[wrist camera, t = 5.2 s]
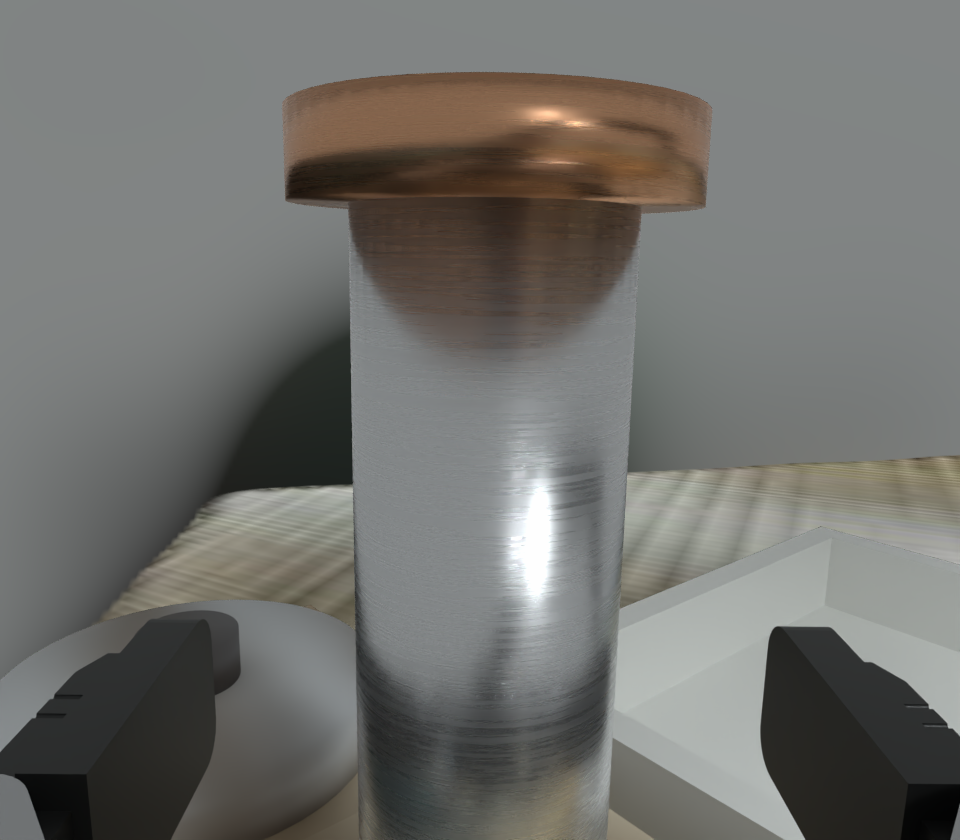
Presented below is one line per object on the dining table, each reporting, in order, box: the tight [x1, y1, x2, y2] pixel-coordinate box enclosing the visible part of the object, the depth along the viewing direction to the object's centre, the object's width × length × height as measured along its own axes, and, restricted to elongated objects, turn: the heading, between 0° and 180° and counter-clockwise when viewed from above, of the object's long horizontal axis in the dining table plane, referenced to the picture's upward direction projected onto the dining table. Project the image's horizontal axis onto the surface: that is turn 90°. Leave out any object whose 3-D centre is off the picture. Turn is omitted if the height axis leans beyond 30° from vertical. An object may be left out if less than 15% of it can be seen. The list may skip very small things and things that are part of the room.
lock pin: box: [282, 72, 712, 840], centre depth 11 cm, size 5×5×17 cm
